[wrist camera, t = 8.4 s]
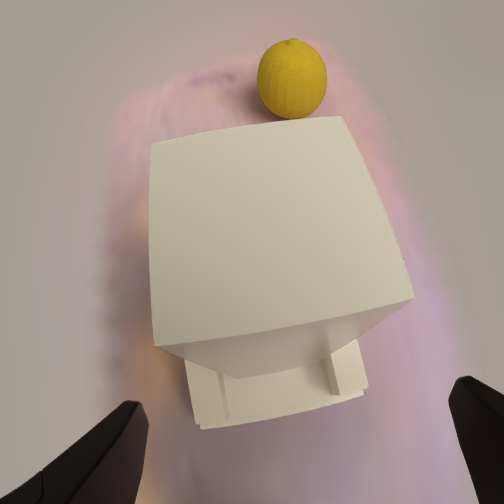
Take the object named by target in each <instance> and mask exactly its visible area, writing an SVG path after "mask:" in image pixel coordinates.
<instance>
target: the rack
mask: <svg viewBox="0 0 504 504" xmlns="http://www.w3.org/2000/svg"><path fill="white" fill-rule="evenodd" d="M184 361H185V367H186V373H187V379H188V385H189V391H190V397H191V402H192V408H193V413H194V418H195V423H196V424H200V428H201V430H204V429H212V428H220V427H227V426H234V425H240V424H246V423H252V422H257V421H263V420H268V419H273V418H278V417H283V416H287V415H292V414H296V413H301V412H305V411H309V410H313V409H317V408H321V407H325V406H328V405H332V404H336V403H339V402H343V401H346V400H349V399H353V398H356V397H359V396H362V395H364V392H363V389H365V388H368V387H369V385H368V381H367V377H366V373H365V369H364V364H363V360H362V356H361V352H360V349H359V345H358V341H357V338H356V339H354V340H353V341H351V342H350V343H348V344H346V345H345V346H343V347H342V348H340V349H338V350H337V351H335V352H333V353H332V354H330V355H328V356H327V357H325V358H323V359H322V360H320V361H318V362H316V363H315V364H313V365H311V366H307V367H303V368H298V369H293V370H287V371H282V372H277V373H271V374H265V375H259V376H253V377H247V378H240V379H236V378H233V377H230V376H227V375H224V374H222V373H219V372H216V371H213V370H211V369H208V368H205V367H203V366H200V365H198V364H195V363H193V362H190V361H188V360H185V359H184Z"/></svg>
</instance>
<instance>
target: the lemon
mask: <svg viewBox="0 0 504 504" xmlns="http://www.w3.org/2000/svg"><path fill="white" fill-rule="evenodd" d="M326 86H327V74H326V68H325V64H324V62H323V59H322V57H321V56H320V54H319V53H318V52H317V51H316V50H315V49H314V48H313V47H312V46H310V45H308V44H306V43H304V42H302V41H299V40H298V39H295V38H291V39H289V40H285V41H281V42H279V43H276V44H274V45H273V46H271V47H270V48H269V49H268V50H267V51H266V52H265V53H264V55H263V57H262V59H261V61H260V64H259V68H258V74H257V87H258V91H259V94H260V97H261V99H262V101H263V103H264V105H265V106H266V107H267V108H268V109H269V110H270V111H271V112H273V113H274V114H276V115H278V116H280V117H283V118H287V119H298V118H302V117H305V116H307V115H309V114H311V113H312V112H314V111H315V110H316V109H317V108H318V107H319V105H320V104H321V102H322V100H323V98H324V95H325V92H326Z"/></svg>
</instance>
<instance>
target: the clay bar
mask: <svg viewBox="0 0 504 504" xmlns="http://www.w3.org/2000/svg"><path fill="white" fill-rule="evenodd" d="M149 275H150V296H151V313H152V327H153V339H154V347H156V348H159V349H161V350H163V351H166V352H168V353H170V354H173V355H175V356H178V357H180V358H183V359H185V360H188V361H190V362H193V363H195V364H198V365H200V366H203V367H205V368H208V369H211V370H213V371H216V372H219V373H222V374H224V375H227V376H230V377H233V378H236V379H240V378H247V377H253V376H259V375H265V374H271V373H277V372H282V371H287V370H293V369H298V368H303V367H307V366H311V365H313V364H315V363H316V362H318V361H320V360H322V359H323V358H325V357H327V356H328V355H330V354H332V353H333V352H335V351H337V350H338V349H340V348H342V347H343V346H345V345H346V344H348V343H350V342H351V341H353V340H354V339H356V338H357V337H359V336H361V335H362V334H364V333H365V332H367V331H368V330H370V329H371V328H373V327H374V326H376V325H377V324H379V323H380V322H382V321H383V320H385V319H386V318H388V317H389V316H391V315H392V314H393V313H395V312H396V311H398V310H399V309H401V308H402V307H403V306H405V305H406V304H408V303H409V302H410V301H412V300H413V299H414V298H415V294H414V291H413V288H412V285H411V281H410V278H409V275H408V272H407V269H406V266H405V263H404V260H403V257H402V254H401V251H400V249H399V246H398V243H397V240H396V238H395V235H394V232H393V229H392V227H391V224H390V222H389V219H388V217H387V214H386V211H385V209H384V206H383V204H382V202H381V199H380V197H379V194H378V192H377V190H376V187H375V185H374V183H373V180H372V178H371V176H370V174H369V171H368V169H367V167H366V165H365V163H364V160H363V158H362V156H361V154H360V152H359V150H358V148H357V146H356V144H355V142H354V139H353V137H352V135H351V133H350V131H349V129H348V127H347V126H346V124H345V122H344V120H343V118H342V116H331V117H317V118H305V119H295V120H285V121H276V122H268V123H260V124H253V125H246V126H239V127H233V128H226V129H220V130H215V131H209V132H203V133H198V134H193V135H188V136H183V137H178V138H173V139H169V140H164V141H160V142H155V143H151V149H150V171H149Z"/></svg>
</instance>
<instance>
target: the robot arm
mask: <svg viewBox="0 0 504 504" xmlns="http://www.w3.org/2000/svg"><path fill="white" fill-rule="evenodd" d="M448 402H449V407H450V411H451V414H452V418H453V421H454V425H455V429H456V433H457V437H458V440H459V444H460V447H461V450H462V453H463V455H464V458H465V461H466V464H467V467H468V470H469V473H470V476H471V479H472V482H473V485H474V488H475V491H476V495H477V498H478V501H479V504H504V395H503V394H501V393H500V392H498V391H496V390H494V389H493V388H491V387H489V386H487V385H486V384H484V383H482V382H480V381H479V380H477V379H475V378H473V377H472V376H464V377H460V378H458V379H457V380H456V382H455V384H454V387H453V389H452V391H451V393H450V396H449V400H448ZM148 428H149V423H148V419H147V417H146V414H145V412H144V409H143V406H142V404H141V403H140V402H138V401H130V400H127V401H124V402H123V403H122V404H121V405H120V406H118V407H117V408H116V409H115V410H114V411H113V412H111V413H110V414H109V415H108V416H107V417H105V418H104V419H103V420H102V421H101V422H99V423H98V424H97V425H96V426H95V427H93V428H92V429H91V430H90V431H89V432H87V433H86V434H85V435H84V436H83V437H81V438H80V439H79V440H78V441H77V442H75V443H74V444H73V445H72V446H71V447H69V448H68V449H67V450H66V451H64V452H63V453H62V454H61V455H59V456H58V457H57V458H56V459H55V460H53V461H52V462H51V463H50V464H48V465H47V466H46V467H45V468H43V470H42V471H39V472H38V473H37V474H36V475H34V476H33V477H32V478H31V479H29V480H28V481H27V482H25V483H24V484H22V485H21V486H20V487H18V488H17V489H15V490H13V491H12V492H10V493H9V494H7V495H6V496H4V497H2V498H1V499H0V504H135V500H136V496H137V492H138V488H139V484H140V480H141V476H142V471H143V465H144V457H145V449H146V442H147V435H148Z"/></svg>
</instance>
